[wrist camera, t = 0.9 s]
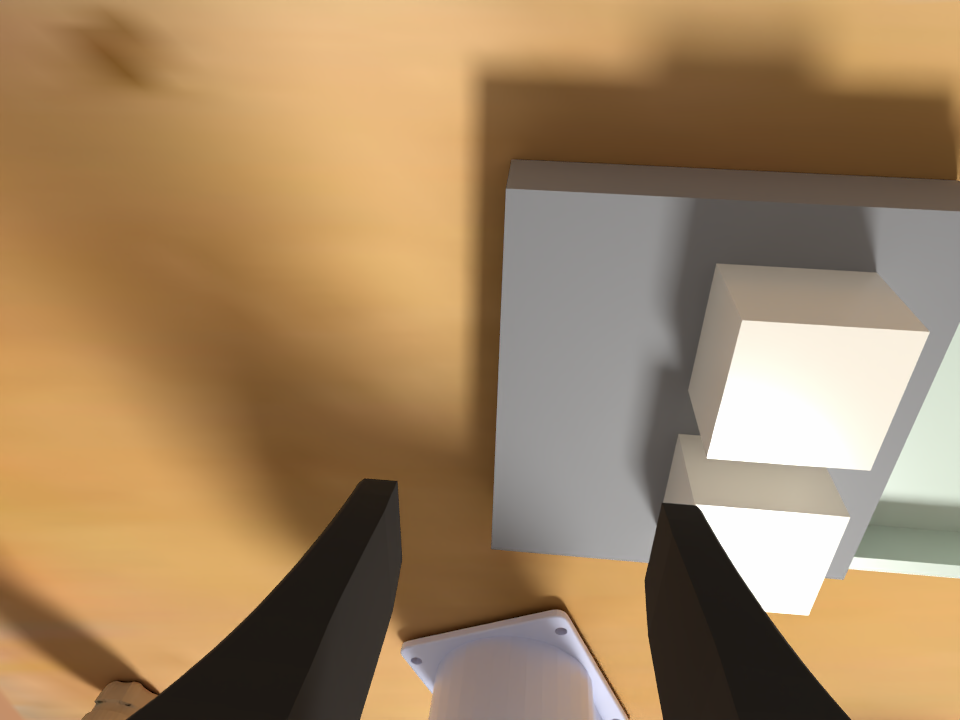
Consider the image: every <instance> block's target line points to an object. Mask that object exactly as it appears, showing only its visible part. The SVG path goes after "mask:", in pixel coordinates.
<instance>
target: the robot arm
mask: <svg viewBox="0 0 960 720" xmlns="http://www.w3.org/2000/svg"><path fill="white" fill-rule="evenodd" d="M401 563H402V548H401V531H400V515H399V498H398V481H389V480H376V479H363V480H362V481H361V482H359V484H358V485H357V486H356V488H355V489H354V491H353V492H352V494H351V495H350V497H349V498H348V499H347V501H346V502H345V504H344V505H343V506H342V508H341V509H340V510H339V512H338V513H337V514H336V516H335V517H334V518H333V520H332V521H331V522H330V524H329V525H328V526H327V527H326V529H325V530H324V531H323V533H322V534H321V535H320V536H319V537H318V539H317V540H316V541H315V542H314V544H313V545H312V546H311V547H310V548H309V550H308V551H307V552H306V553H305V554H304V556H303V557H302V558H301V559H300V560H299V562H298V563H297V564H296V565H295V566H294V567H293V569H292V570H291V571H290V572H289V573H288V574H287V575H286V576H285V577H284V579H283V580H282V581H281V582H280V583H279V584H278V585H277V586H276V587H275V588H274V589H273V590H272V592H271V593H270V594H269V595H268V596H267V597H266V598H265V599H264V600H263V601H262V602H261V603H260V604H259V605H258V607H257V608H256V609H255V610H254V611H253V612H252V613H251V614H250V615H249V616H248V617H247V618H246V619H245V620H244V621H243V622H241V623H240V624H239V625H238V626H237V627H236V628H235V629H234V630H233V631H232V632H231V633H230V634H229V635H228V636H227V637H226V638H225V639H224V640H222V641H221V642H220V643H219V644H218V645H217V646H216V647H215V648H214V649H213V650H212V651H210V652H209V653H208V654H207V655H206V656H205V657H203V658H202V659H201V660H200V661H199V662H198V663H196V664H195V665H194V666H193V667H192V668H191V669H189V670H188V671H187V672H186V673H185V674H184V675H182V676H181V677H180V678H179V679H178V680H177V681H175V682H174V683H173V684H172V685H170V686H169V687H168V688H167V689H165V690H164V691H163V692H162V693H160V694H159V695H158V696H157V697H155V698H154V699H153V700H151V701H150V702H149V703H147V704H146V705H145V706H143V707H142V708H141V709H139V710H138V711H136V712H135V713H134V714H132V715H131V716H130V717H128V718H127V719H126V720H360V718H361V714H362V711H363V708H364V704H365V701H366V698H367V695H368V691H369V688H370V685H371V681H372V678H373V675H374V672H375V668H376V665H377V662H378V658H379V655H380V652H381V648H382V645H383V642H384V638H385V635H386V632H387V628H388V625H389V622H390V618H391V615H392V611H393V606H394V601H395V596H396V590H397V585H398V579H399V574H400V568H401ZM645 594H646V611H647V625H648V637H649V643H650V649H651V654H652V660H653V666H654V671H655V677H656V682H657V688H658V693H659V699H660V704H661V710H662V715H663V720H851V719H850V718H849V717H848V715H847V714H846V713H845V712H844V711H843V710H842V709H841V707H840V706H839V705H838V704H837V703H836V702H835V701H834V699H833V698H832V697H831V696H830V695H829V694H828V692H827V691H826V690H825V689H824V688H823V687H822V685H821V684H820V683H819V682H818V681H817V679H816V678H815V677H814V676H813V674H812V673H811V672H810V671H809V669H808V668H807V667H806V666H805V664H804V663H803V662H802V661H801V659H800V658H799V657H798V655H797V654H796V653H795V652H794V650H793V649H792V648H791V646H790V645H789V644H788V642H787V641H786V640H785V638H784V637H783V636H782V634H781V633H780V632H779V630H778V629H777V628H776V626H775V625H774V623H773V622H772V621H771V619H770V618H769V616H768V615H767V614H766V612H765V611H764V609H763V608H762V606H761V605H760V603H759V602H758V600H757V599H756V598H755V596H754V595H753V593H752V592H751V590H750V589H749V587H748V586H747V584H746V583H745V581H744V580H743V578H742V577H741V575H740V574H739V572H738V571H737V569H736V567H735V566H734V564H733V563H732V561H731V559H730V558H729V556H728V555H727V553H726V551H725V550H724V548H723V546H722V545H721V543H720V541H719V540H718V538H717V536H716V535H715V533H714V531H713V530H712V528H711V526H710V524H709V523H708V521H707V519H706V517H705V516H704V514H703V512H702V510H701V509H700V508H699V507H698V506H697V505H686V504H674V503H662V504H661V509H660V513H659V518H658V522H657V527H656V531H655V536H654V540H653V545H652V549H651V554H650V558H649V563H648V568H647V572H646V577H645ZM401 655H402V656H403V657H404V659H405V660H406V661H407V662H408V664H409V665H410V666H411V668H412V669H413V670H414V671H415V673H416V674H417V675H418V676H419V678H420V679H421V680H422V681H423V683H424V684H425V685H426V686H427V688H428V689H429V690H430V691H431V693H432V694H433V695H432V701H431V707H430V713H429V720H629V719H628V717H627V715H626V714H625V712H624V710H623V709H622V707H621V705H620V703H619V702H618V700H617V698H616V697H615V695H614V693H613V691H612V690H611V688H610V686H609V685H608V683H607V681H606V680H605V678H604V676H603V674H602V673H601V671H600V669H599V668H598V666H597V664H596V662H595V661H594V659H593V657H592V656H591V654H590V652H589V650H588V649H587V647H586V645H585V644H584V642H583V640H582V638H581V637H580V635H579V633H578V632H577V630H576V628H575V626H574V625H573V623H572V621H571V620H570V618H569V616H568V615H567V614H566V613H565V612H564V611H562V610H558V609H555V610H549V611H544V612H540V613H535V614H530V615H526V616H521V617H516V618H512V619H507V620H502V621H498V622H493V623H488V624H484V625H479V626H474V627H470V628H465V629H460V630H456V631H451V632H446V633H442V634H437V635H432V636H428V637H423V638H418V639H414V640H409V641H406V642H404V643H403V644H402V648H401Z"/></svg>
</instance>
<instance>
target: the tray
mask: <svg viewBox="0 0 960 720" xmlns="http://www.w3.org/2000/svg"><path fill="white" fill-rule="evenodd" d="M849 569H856V570H868V571H880V572H891V573H903V574H915V575H926V576H938V577H950V578H960V323H959V325H958V327H957V330H956V332H955V334H954V336H953V338H952V341H951V343H950V345H949V347H948V349H947V352H946V354H945V356H944V358H943V361H942V363H941V365H940V367H939V369H938V372H937V374H936V376H935V378H934V380H933V383H932V385H931V387H930V389H929V392H928V394H927V396H926V398H925V400H924V403H923V405H922V407H921V409H920V411H919V414H918V416H917V418H916V420H915V423H914V425H913V427H912V429H911V431H910V434H909V436H908V438H907V440H906V442H905V445H904V447H903V449H902V451H901V454H900V456H899V458H898V460H897V462H896V465H895V467H894V469H893V471H892V473H891V476H890V478H889V480H888V482H887V485H886V487H885V489H884V491H883V493H882V496H881V498H880V500H879V502H878V504H877V507H876V509H875V511H874V513H873V515H872V518H871V520H870V522H869V524H868V527H867V529H866V531H865V533H864V535H863V538H862V540H861V542H860V544H859V546H858V549H857V551H856V553H855V555H854V558H853V560H852V562H851V564H850V566H849Z"/></svg>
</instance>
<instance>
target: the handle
mask: <svg viewBox="0 0 960 720" xmlns="http://www.w3.org/2000/svg"><path fill="white" fill-rule="evenodd" d="M157 696H158V695H157V694H154V693H151V692H150V691H148V690H147V689H145V688H144V687H143V686H142V684H141V683H138V682H130V683H123V682H119V681H114V682H111V683H109V684H107V686H106V687H105V688H104V689H103V690H102V692H101V693H100V694H99V696H98V697H97V699H96V700H95V703H96V705H95V707H94V708H93V710H92V711H91V712H89V713H87V714H86V715H85V716H84V717H83V718H82V720H126V719H127V718H128V717H130V716H131V715H132V714H134V713H135V712H136V711H138V710H139V709H141V708H142V707H143V706H145V705H146V704H147V703H149V702H150V701H151V700H153V699H154V698H155V697H157Z"/></svg>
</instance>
